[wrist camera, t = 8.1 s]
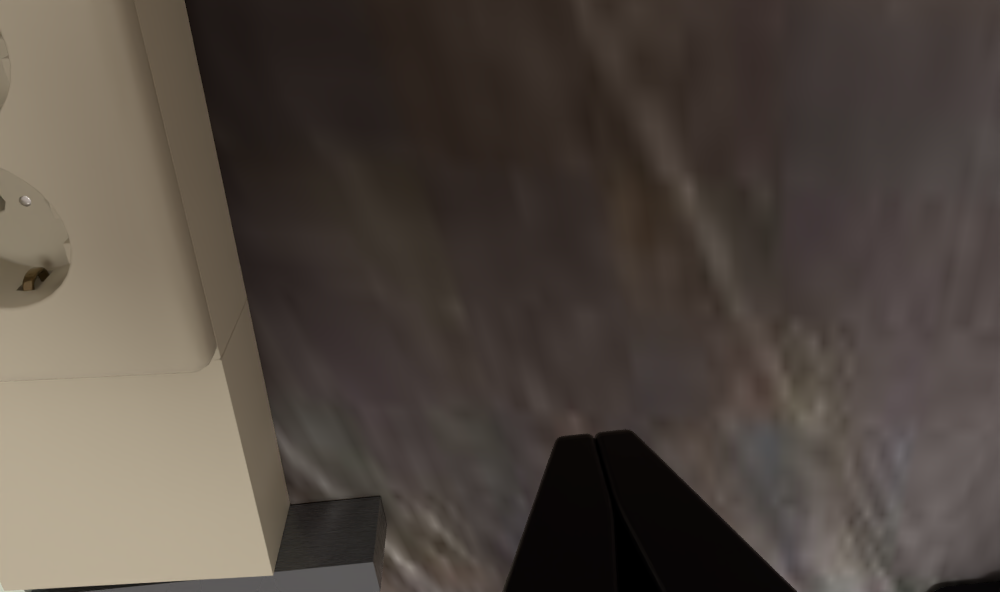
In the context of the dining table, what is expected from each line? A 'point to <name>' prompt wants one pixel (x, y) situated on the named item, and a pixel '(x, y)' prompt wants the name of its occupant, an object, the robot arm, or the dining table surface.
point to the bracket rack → (300, 555)
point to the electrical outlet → (123, 313)
